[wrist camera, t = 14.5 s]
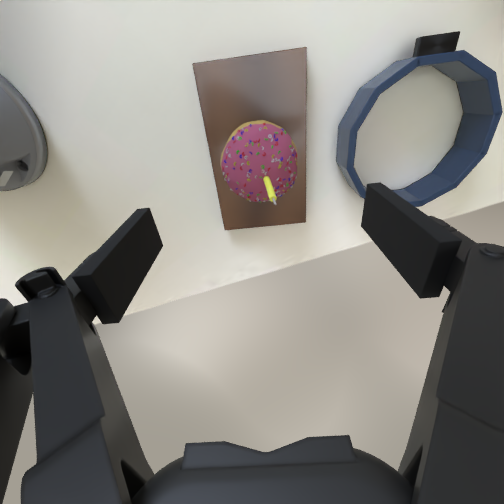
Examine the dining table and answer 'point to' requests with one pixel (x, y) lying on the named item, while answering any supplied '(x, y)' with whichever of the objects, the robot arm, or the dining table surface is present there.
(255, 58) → the cutting board
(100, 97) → the dining table surface
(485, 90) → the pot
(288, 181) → the cupcake
